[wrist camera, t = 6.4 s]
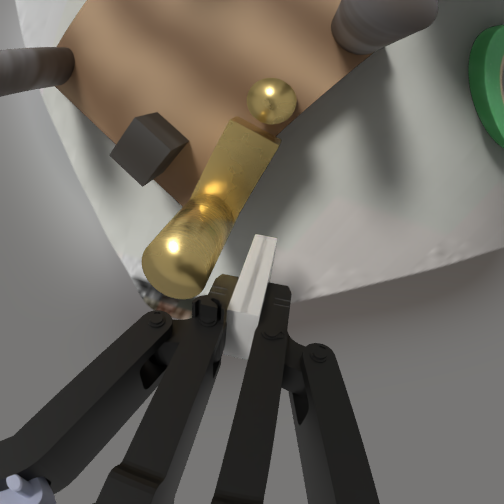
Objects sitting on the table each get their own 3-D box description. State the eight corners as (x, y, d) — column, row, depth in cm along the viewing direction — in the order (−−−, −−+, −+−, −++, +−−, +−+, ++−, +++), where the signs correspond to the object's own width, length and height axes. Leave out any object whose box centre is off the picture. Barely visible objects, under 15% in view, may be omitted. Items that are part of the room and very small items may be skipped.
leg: (261, 70, 15) (233, 55, 8) (310, 96, 15) (317, 99, 9) (186, 214, 20) (134, 277, 14) (226, 236, 21) (191, 309, 14)
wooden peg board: (198, -88, 10) (140, -152, 1) (383, 42, 15) (453, 8, 6) (61, 71, 18) (-36, 88, 9) (204, 203, 23) (143, 283, 14)
